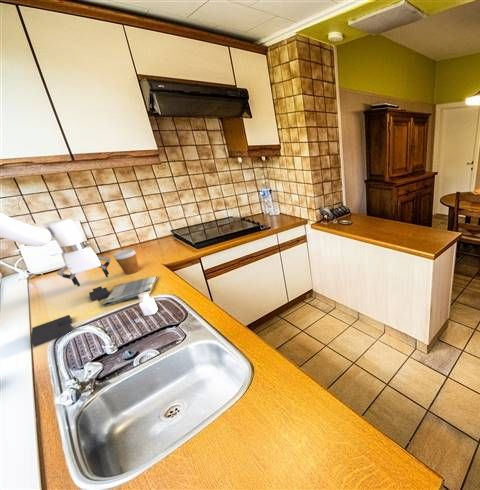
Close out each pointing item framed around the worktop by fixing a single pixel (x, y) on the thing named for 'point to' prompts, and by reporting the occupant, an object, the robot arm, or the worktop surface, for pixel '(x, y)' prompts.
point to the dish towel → (130, 290)
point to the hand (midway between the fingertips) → (93, 280)
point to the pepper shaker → (147, 304)
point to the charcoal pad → (51, 330)
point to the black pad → (99, 294)
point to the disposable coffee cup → (127, 261)
